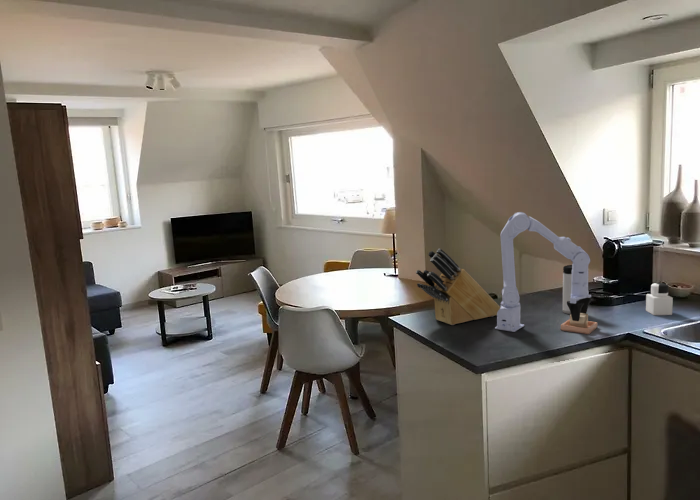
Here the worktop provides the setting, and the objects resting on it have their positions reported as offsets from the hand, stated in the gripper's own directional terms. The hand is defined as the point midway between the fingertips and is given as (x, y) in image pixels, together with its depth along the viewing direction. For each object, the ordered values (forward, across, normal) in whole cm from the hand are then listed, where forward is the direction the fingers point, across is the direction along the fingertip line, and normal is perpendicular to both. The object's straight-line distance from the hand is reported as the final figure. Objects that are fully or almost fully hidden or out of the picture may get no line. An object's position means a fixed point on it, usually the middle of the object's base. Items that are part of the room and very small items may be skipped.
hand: (579, 318), depth 202 cm
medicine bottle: (+4, +37, -19) cm, 42 cm away
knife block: (+4, -12, +44) cm, 45 cm away
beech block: (+4, 0, 0) cm, 4 cm away
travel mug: (+4, +21, +10) cm, 24 cm away
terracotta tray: (+4, 0, 0) cm, 4 cm away
